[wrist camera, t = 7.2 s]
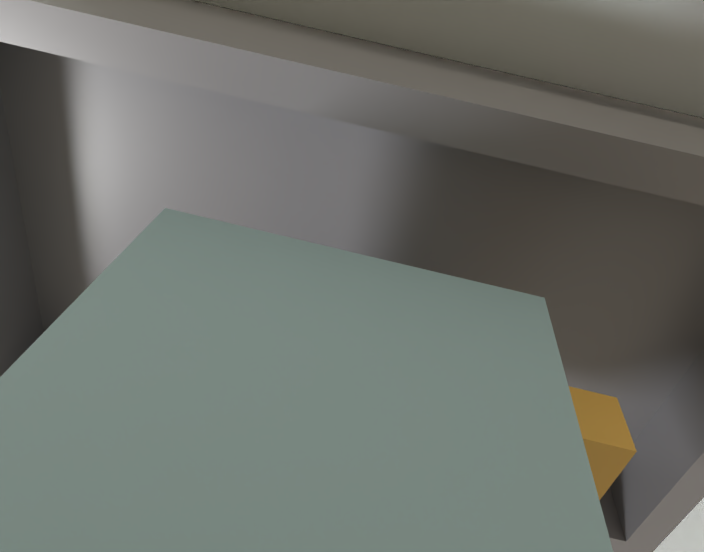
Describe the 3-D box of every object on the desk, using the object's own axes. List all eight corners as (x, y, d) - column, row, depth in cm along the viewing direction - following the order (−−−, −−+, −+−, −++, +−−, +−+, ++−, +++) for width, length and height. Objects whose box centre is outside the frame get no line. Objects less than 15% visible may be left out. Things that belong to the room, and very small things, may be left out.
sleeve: (664, 326, 9) (947, 843, 4) (523, 538, 12) (577, 952, 7) (165, 208, 9) (-183, 563, 4) (167, 452, 13) (-16, 801, 8)
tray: (613, 472, 17) (640, 563, 15) (43, 335, 18) (-22, 402, 15) (851, 152, 11) (965, 217, 9) (-25, -50, 12) (-153, -42, 9)
